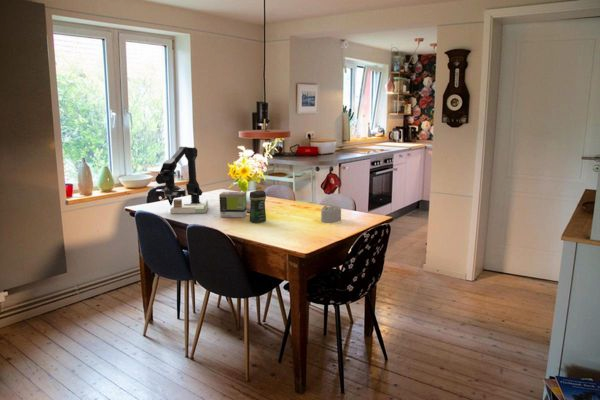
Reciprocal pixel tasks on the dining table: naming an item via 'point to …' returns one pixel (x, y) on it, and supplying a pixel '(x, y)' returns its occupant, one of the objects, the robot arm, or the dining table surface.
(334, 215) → the lumpy-topped squat cylinder
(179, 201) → the walnut block
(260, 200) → the coffee jar
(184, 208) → the trap board
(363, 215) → the dining table surface
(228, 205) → the retro computer monitor
